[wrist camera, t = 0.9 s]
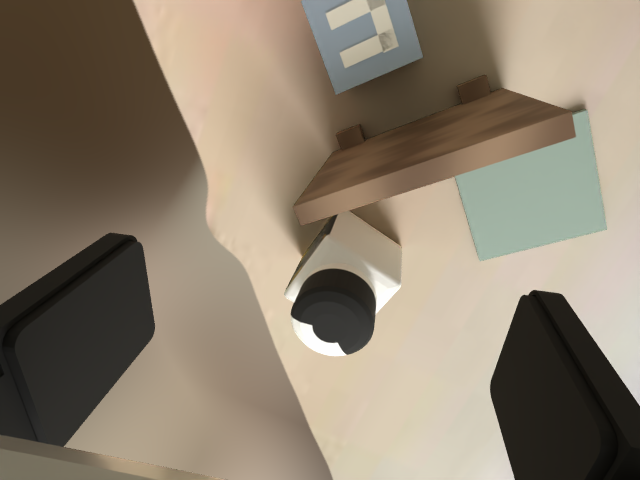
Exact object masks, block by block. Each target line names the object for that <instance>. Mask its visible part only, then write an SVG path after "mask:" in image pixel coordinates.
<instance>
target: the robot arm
mask: <svg viewBox="0 0 640 480" xmlns="http://www.w3.org/2000/svg"><path fill="white" fill-rule="evenodd" d="M154 330H155V323H154V316H153V310H152V303H151V297H150V290H149V284H148V277H147V272H146V265H145V257H144V252H143V246H142V244H141V243H140V242H137V239H136V238H135V237H134V236H132V235H123V234H117V233H109V234H106V235H105V236H103V237H102V238H100V239H99V240H97V241H96V242H94V243H93V244H92V245H90V246H88V247H87V248H85V249H84V250H82V251H81V252H79V253H78V254H76V255H75V256H73V257H72V258H70V259H69V260H67V261H66V262H64V263H63V264H61V265H60V266H58V267H57V268H55V269H54V270H52V271H51V272H49V273H48V274H46V275H45V276H43V277H42V278H40V279H39V280H37V281H36V282H34V283H33V284H31V285H30V286H28V287H27V288H25V289H24V290H22V291H21V292H19V293H18V294H16V295H15V296H13V297H12V298H10V299H9V300H7V301H6V302H4V303H3V304H1V305H0V480H226V479H221V478H216V477H211V476H206V475H201V474H196V473H192V472H186V471H182V470H177V469H172V468H167V467H162V466H157V465H152V464H147V463H142V462H137V461H132V460H126V459H121V458H116V457H112V456H106V455H101V454H96V453H91V452H86V451H81V450H76V449H71V448H66V447H64V445H65V444H66V443H67V442H68V441H69V440H70V438H71V437H72V436H73V435H74V433H75V432H76V431H77V430H78V429H79V427H80V426H81V425H82V424H83V422H84V421H85V420H86V419H87V417H88V416H89V415H90V414H91V412H92V411H93V410H94V409H95V408H96V406H97V405H98V404H99V403H100V401H101V400H102V399H103V398H104V396H105V395H106V394H107V393H108V392H109V390H110V389H111V388H112V387H113V386H114V384H115V383H116V382H117V380H118V379H119V378H120V377H121V376H122V374H123V373H124V372H125V371H126V370H127V368H128V367H129V366H130V365H131V363H132V362H133V361H134V360H135V358H136V357H137V356H138V355H139V353H140V352H141V351H142V350H143V349H144V347H145V346H146V345H147V344H148V342H149V341H150V340H151V339H152V337H153V334H154ZM490 393H491V398H492V402H493V405H494V408H495V412H496V415H497V419H498V422H499V426H500V429H501V433H502V436H503V440H504V443H505V447H506V450H507V454H508V457H509V460H510V464H511V467H512V471H513V474H514V478H515V480H640V406H639V404H638V403H637V401H636V400H635V398H634V397H633V396H632V394H631V393H630V391H629V390H628V388H627V387H626V385H625V384H624V383H623V381H622V380H621V378H620V377H619V375H618V374H617V373H616V371H615V370H614V368H613V367H612V365H611V364H610V362H609V361H608V360H607V358H606V357H605V355H604V354H603V352H602V351H601V349H600V348H599V347H598V345H597V344H596V342H595V341H594V339H593V338H592V337H591V335H590V334H589V332H588V331H587V329H586V328H585V326H584V325H583V324H582V322H581V321H580V319H579V318H578V316H577V315H576V313H575V312H574V311H573V309H572V308H571V306H570V305H569V303H568V302H567V300H566V299H565V298H564V296H563V295H562V294H559V293H552V292H545V291H537V290H533V291H531V292H530V293H529V295H523V296H522V297H521V298H520V300H519V303H518V305H517V308H516V311H515V314H514V317H513V320H512V322H511V325H510V328H509V331H508V334H507V337H506V339H505V342H504V345H503V348H502V351H501V354H500V357H499V359H498V362H497V365H496V368H495V371H494V374H493V376H492V379H491V384H490Z"/></svg>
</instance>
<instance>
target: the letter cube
mask: <svg viewBox="0 0 640 480" xmlns="http://www.w3.org/2000/svg"><path fill="white" fill-rule="evenodd" d="M301 3H302V5H303V8H304V11H305V13H306V16H307V19H308V21H309V24H310V27H311V29H312V32H313V35H314V38H315V40H316V43H317V46H318V48H319V51H320V54H321V56H322V59H323V62H324V64H325V67H326V70H327V72H328V75H329V78H330V80H331V83H332V86H333V89H334V91H335V94H336V95H337V94H339V93H341V92H344V91H346V90H348V89H351V88H353V87H355V86H358V85H360V84H362V83H365V82H367V81H369V80H372V79H374V78H376V77H379V76H381V75H383V74H386V73H388V72H390V71H393V70H395V69H397V68H400V67H402V66H404V65H407V64H409V63H411V62H414V61H416V60H418V59H421V58H423V55H422V51H421V48H420V44H419V41H418V37H417V34H416V30H415V27H414V24H413V20H412V17H411V13H410V10H409V6H408V3H407V0H302V1H301Z"/></svg>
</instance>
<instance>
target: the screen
mask: <svg viewBox="0 0 640 480" xmlns="http://www.w3.org/2000/svg"><path fill="white" fill-rule="evenodd" d="M457 87H458V91H459V94H460V98H461V102H462V103H461V104H459V105H456V106H453V107H451V108H448V109H446V110H443V111H440V112H438V113H435V114H432V115H430V116H427V117H424V118H422V119H419V120H417V121H414V122H411V123H409V124H406V125H403V126H401V127H398V128H395V129H393V130H390V131H388V132H385V133H382V134H380V135H377V136H374V137H372V138H369V139H366V140H365V137H364V135H363V132H362V129H361V126H360V124H358V125H356V126H353V127H351V128H348V129H346V130H343V131H341V132H338V133H337V134H336V136H337V139H338V142H339V144H340V147H341V149H340V150H337V151H335V152H333V153H332V154H331V156H330V157H329V158H328V160H327V161H326V162H325V164H324V165H323V166H322V168H321V169H320V170H319V172H318V173H317V175H316V176H315V177H314V179H313V180H312V181H311V183H310V184H309V185H308V187H307V188H306V189H305V191H304V192H303V194H302V195H301V196H300V198H299V199H298V200H297V202H296V203H295V204H294V206H293V209H294V211H295V213H296V216H297V218H298V220H299V222H300V225H301V226H302V225H306V224H309V223H312V222H315V221H318V220H321V219H324V218H327V217H330V216H333V215H337V214H340V213H343V212H346V211H349V210H352V209H355V208H358V207H361V206H364V205H368V204H371V203H374V202H377V201H380V200H383V199H386V198H389V197H392V196H395V195H398V194H402V193H405V192H408V191H411V190H414V189H417V188H420V187H423V186H426V185H429V184H433V183H436V182H439V181H442V180H445V179H448V178H451V177H454V176H457V175H460V174H464V173H467V172H470V171H473V170H476V169H479V168H482V167H485V166H488V165H491V164H495V163H498V162H501V161H504V160H507V159H510V158H513V157H516V156H519V155H522V154H526V153H529V152H532V151H535V150H538V149H541V148H544V147H547V146H550V145H553V144H557V143H560V142H563V141H566V140H569V139H572V138H575V137H576V133H575V127H574V121H573V116H572V111H569V110H566V109H563V108H560V107H557V106H554V105H551V104H548V103H545V102H542V101H539V100H536V99H534V98H531V97H528V96H525V95H522V94H519V93H516V92H513V91H510V90H507V89H504V88H501V89H498V90H496V91H493V92H490V88H489V84H488V80H487V75H483V76H480V77H477V78H475V79H472V80H470V81H467V82H465V83H462V84H460V85H457Z"/></svg>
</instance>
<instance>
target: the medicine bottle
mask: <svg viewBox="0 0 640 480" xmlns="http://www.w3.org/2000/svg"><path fill="white" fill-rule="evenodd" d="M401 277H402V247H401V246H400V245H398V244H397V243H395V242H394V241H393V240H391V239H390V238H388V237H387V236H385V235H384V234H382V233H381V232H379V231H378V230H376V229H375V228H373V227H372V226H371V225H369V224H368V223H366V222H365V221H363V220H362V219H360V218H359V217H357V216H356V215H354V214H353V213H351V212H350V211H346V212H343V213H340V214H337V215H333V216H332V217H331V218H330V219H329V221H328V222H327V224H326V225H325V226H324V228H323V229H322V231H321V232H320V233H319V235H318V236H317V237H316V239H315V240H314V242H313V243H312V244H311V246H310V247H309V249H308V250H307V251H306V253H305V254H304V255H303V257H302V259H301V261H300V263H299V265H298V267H297V269H296V271H295V273H294V275H293V276H292V278H291V280H290V282H289V284H288V286H287V288H286V290H285V293H284V295H285V297H286V298H288V299H289V300H291V301H292V302H294V304H293V307H292V310H291V323H292V326H293V329H294V331H295V333H296V335H297V336H298V337H299V339H300V340H301V341H302V342H303V343H304V344H306V345H307V346H308V347H309V348H311V349H313V350H314V351H316V352H319V353H321V354H325V355H330V356H343V355H348V354H352V353H354V352H357V351H359V350H360V349H362V348H363V347H364V346H365V345H366V344H367V343H368V342H369V340H370V339H371V337H372V334H373V330H374V323H375V314H376V313H377V312H378V311H379V310H380V309H381V308H382V307H383V306H384V304H385V303H386V302H387V301H388V300H389V299H390V298H391V297H392V296H393V295H394V294H395V293H396V291H397V290H398V289H399V288H400V287H401Z"/></svg>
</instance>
